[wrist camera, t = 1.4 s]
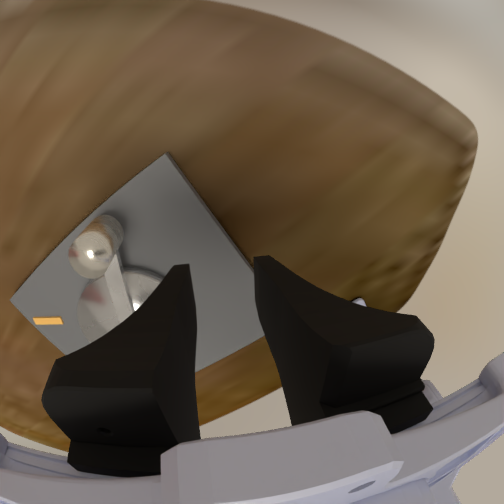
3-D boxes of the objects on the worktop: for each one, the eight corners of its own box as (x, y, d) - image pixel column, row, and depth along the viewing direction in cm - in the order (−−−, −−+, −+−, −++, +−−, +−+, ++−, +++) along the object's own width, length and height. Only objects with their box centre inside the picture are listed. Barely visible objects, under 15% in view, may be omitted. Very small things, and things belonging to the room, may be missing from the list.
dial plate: (285, 312, 25) (289, 322, 23) (130, 394, 27) (129, 404, 25) (167, 151, 17) (164, 154, 16) (15, 292, 19) (8, 301, 18)
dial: (199, 353, 23) (201, 396, 19) (102, 358, 22) (92, 398, 18) (174, 200, 18) (165, 227, 13) (51, 217, 16) (19, 246, 12)
